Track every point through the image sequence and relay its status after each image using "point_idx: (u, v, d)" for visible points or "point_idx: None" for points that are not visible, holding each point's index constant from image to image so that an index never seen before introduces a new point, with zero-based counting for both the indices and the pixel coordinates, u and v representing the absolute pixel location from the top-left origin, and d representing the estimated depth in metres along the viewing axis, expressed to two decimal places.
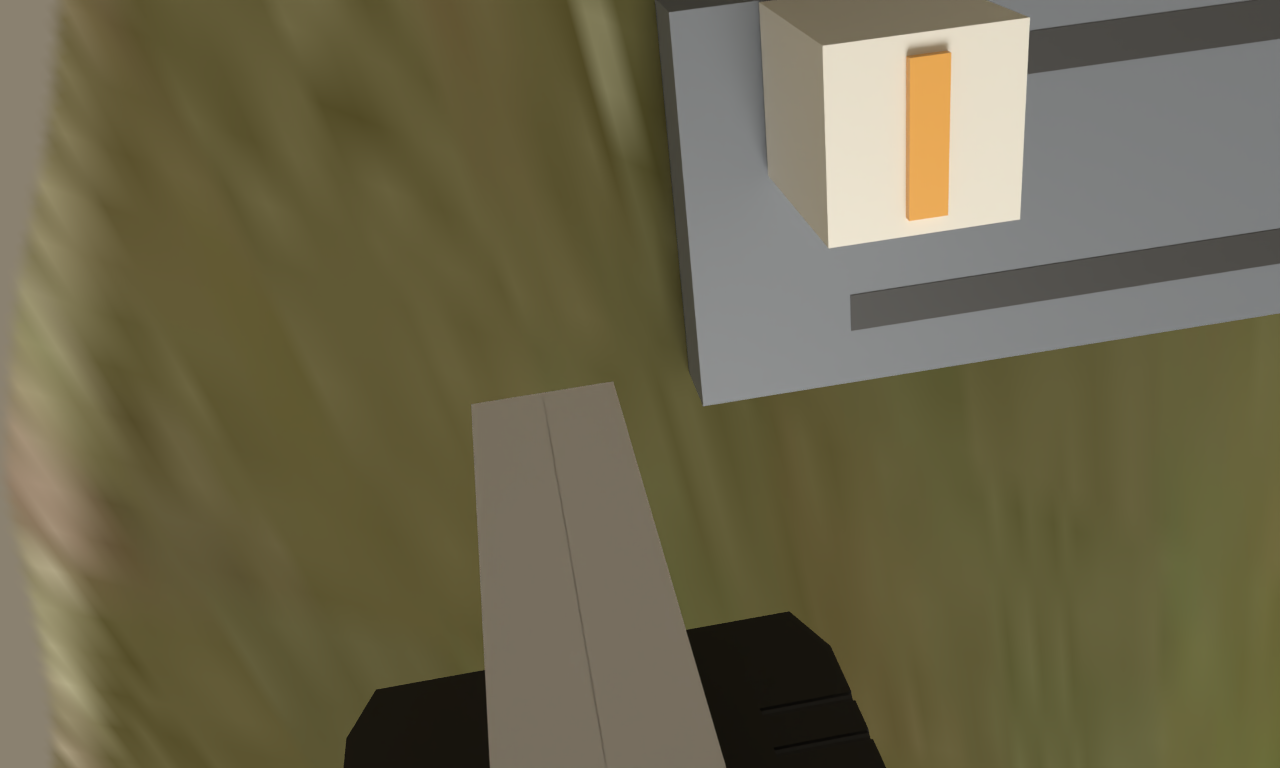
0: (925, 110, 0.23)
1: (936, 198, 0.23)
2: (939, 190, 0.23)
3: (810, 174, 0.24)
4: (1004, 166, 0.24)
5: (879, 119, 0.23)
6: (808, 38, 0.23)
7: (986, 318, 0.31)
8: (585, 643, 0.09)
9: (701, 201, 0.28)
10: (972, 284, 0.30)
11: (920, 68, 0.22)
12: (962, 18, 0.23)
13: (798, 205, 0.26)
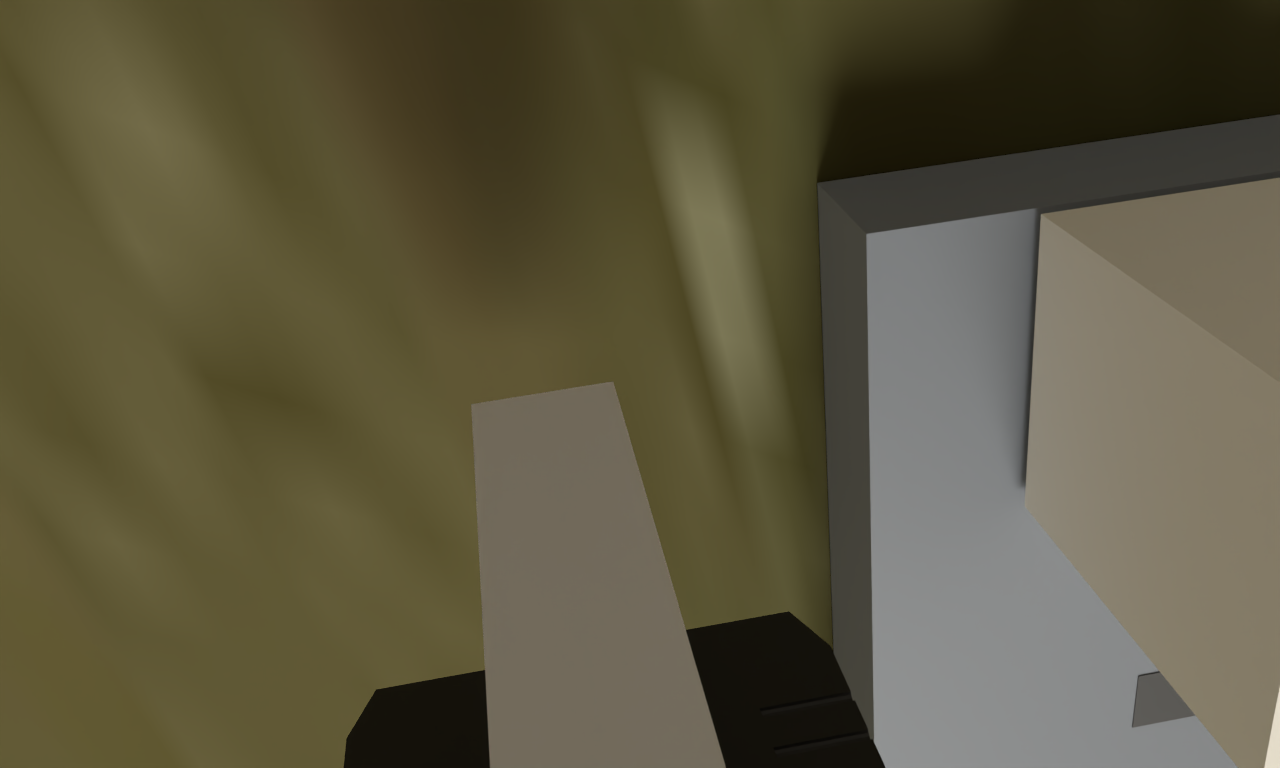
0: None
1: None
2: None
3: (1201, 614, 0.12)
4: None
5: None
6: (1250, 368, 0.10)
7: None
8: (585, 643, 0.09)
9: (899, 547, 0.16)
10: None
11: None
12: None
13: (1134, 627, 0.13)
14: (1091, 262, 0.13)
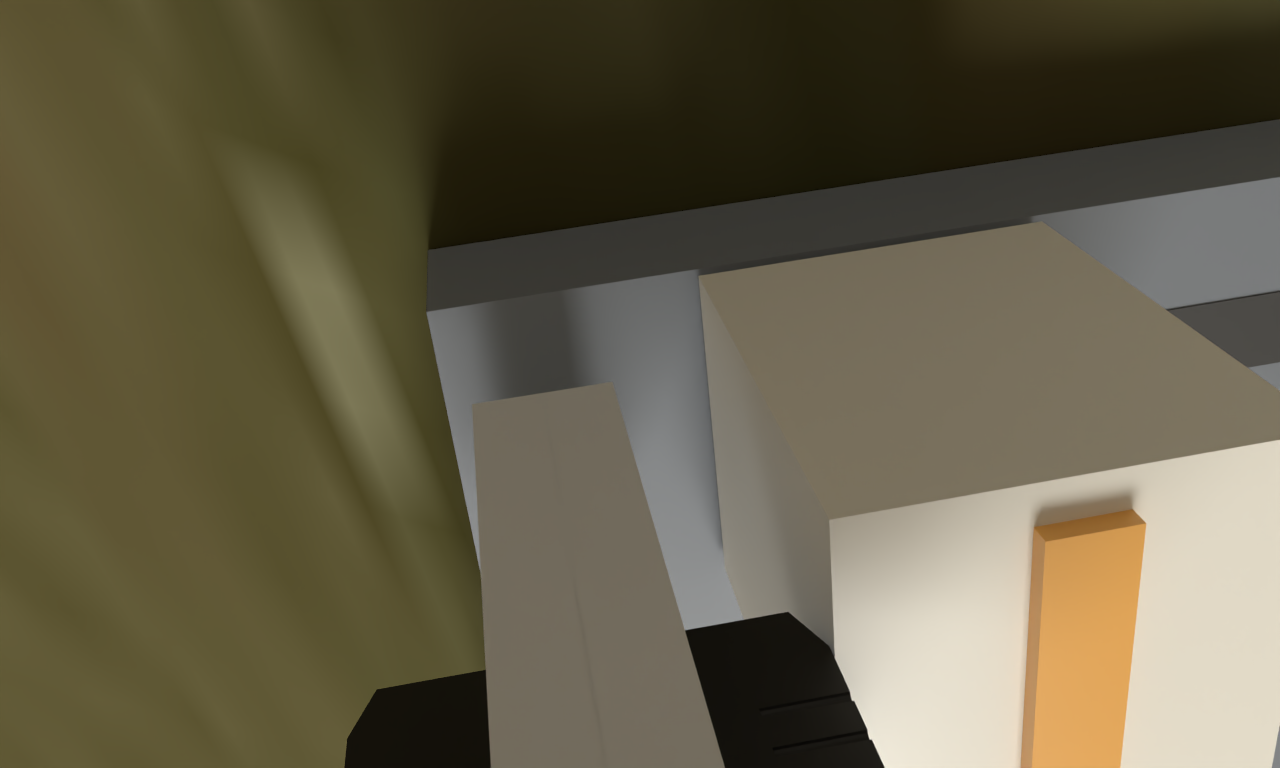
0: (1076, 641, 0.09)
1: None
2: None
3: None
4: (1242, 717, 0.10)
5: (965, 654, 0.10)
6: (794, 457, 0.10)
7: None
8: (586, 643, 0.09)
9: None
10: None
11: (1069, 560, 0.09)
12: (1158, 411, 0.10)
13: None
14: (722, 330, 0.12)
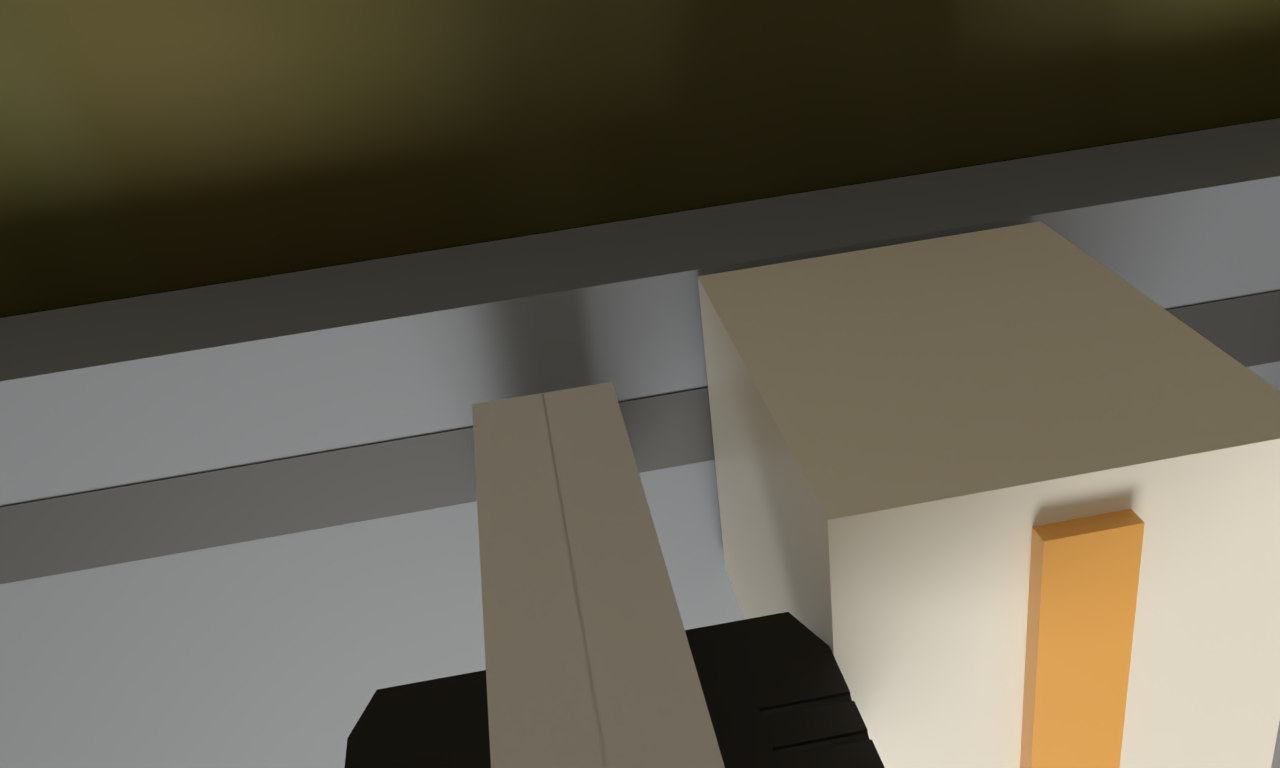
0: (1076, 641, 0.09)
1: None
2: None
3: None
4: (1241, 716, 0.10)
5: (963, 654, 0.10)
6: (791, 458, 0.10)
7: None
8: (587, 643, 0.09)
9: None
10: None
11: (1068, 560, 0.09)
12: (1157, 411, 0.10)
13: None
14: (721, 331, 0.12)
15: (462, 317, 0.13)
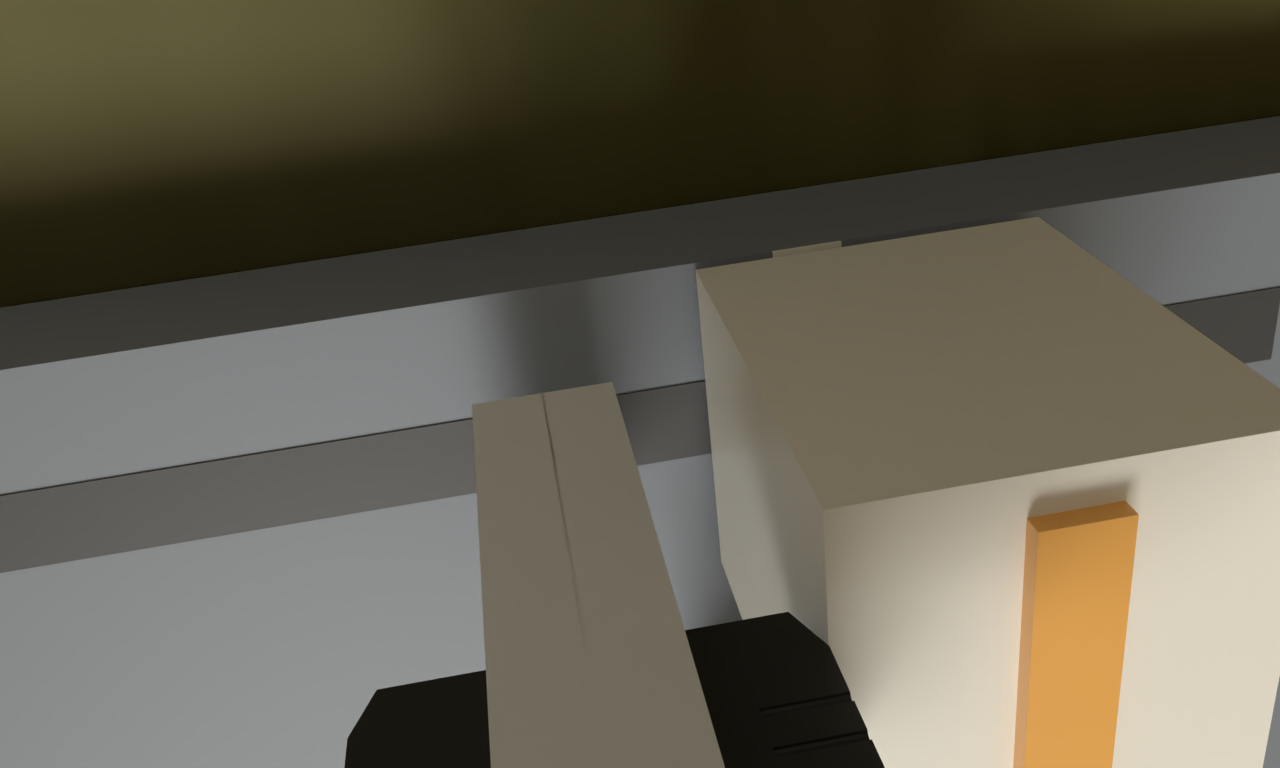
0: (1069, 631, 0.09)
1: None
2: None
3: None
4: (1234, 709, 0.10)
5: (958, 644, 0.10)
6: (788, 448, 0.10)
7: None
8: (586, 643, 0.09)
9: None
10: None
11: (1062, 551, 0.09)
12: (1152, 404, 0.10)
13: None
14: (719, 323, 0.12)
15: None
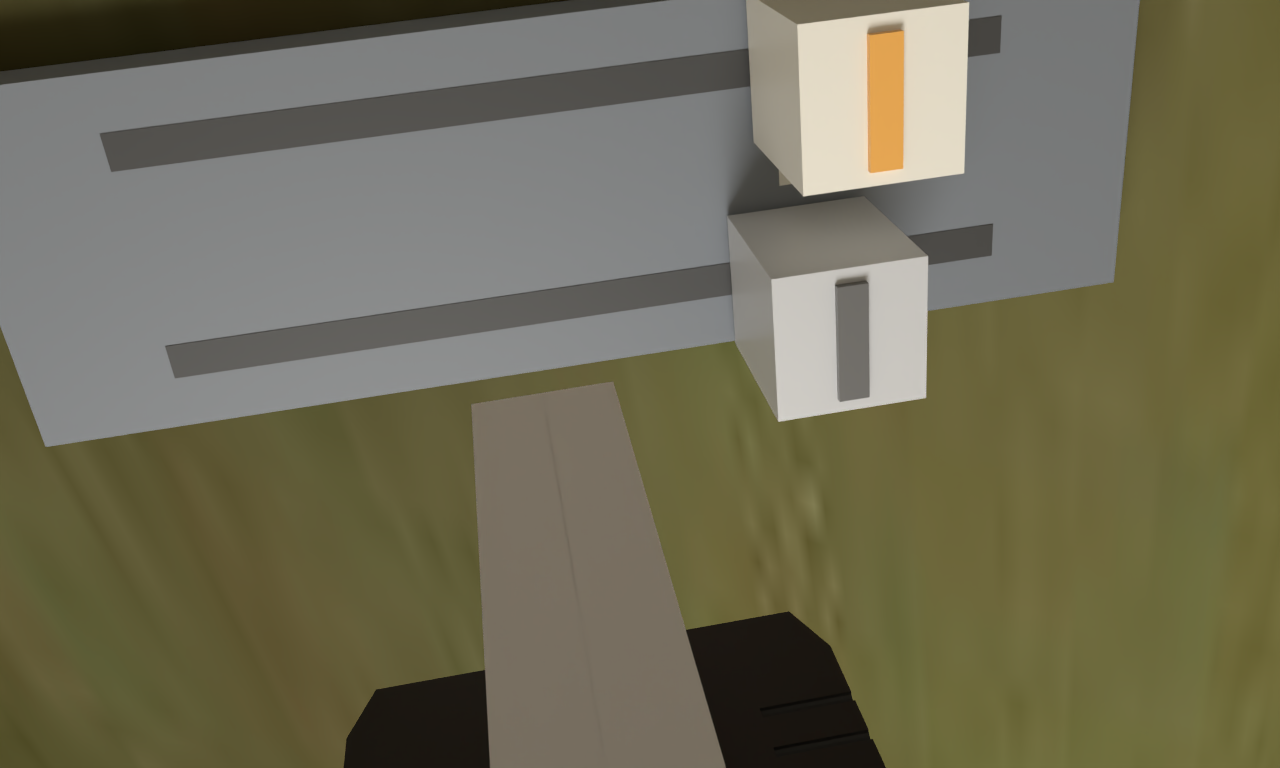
0: (883, 79, 0.27)
1: (893, 154, 0.28)
2: (895, 147, 0.28)
3: (788, 134, 0.29)
4: (950, 127, 0.28)
5: (845, 86, 0.27)
6: (785, 19, 0.27)
7: (307, 366, 0.34)
8: (586, 643, 0.09)
9: None
10: (284, 335, 0.33)
11: (878, 44, 0.27)
12: (914, 3, 0.27)
13: (778, 163, 0.30)
14: (757, 4, 0.30)
15: (331, 47, 0.30)
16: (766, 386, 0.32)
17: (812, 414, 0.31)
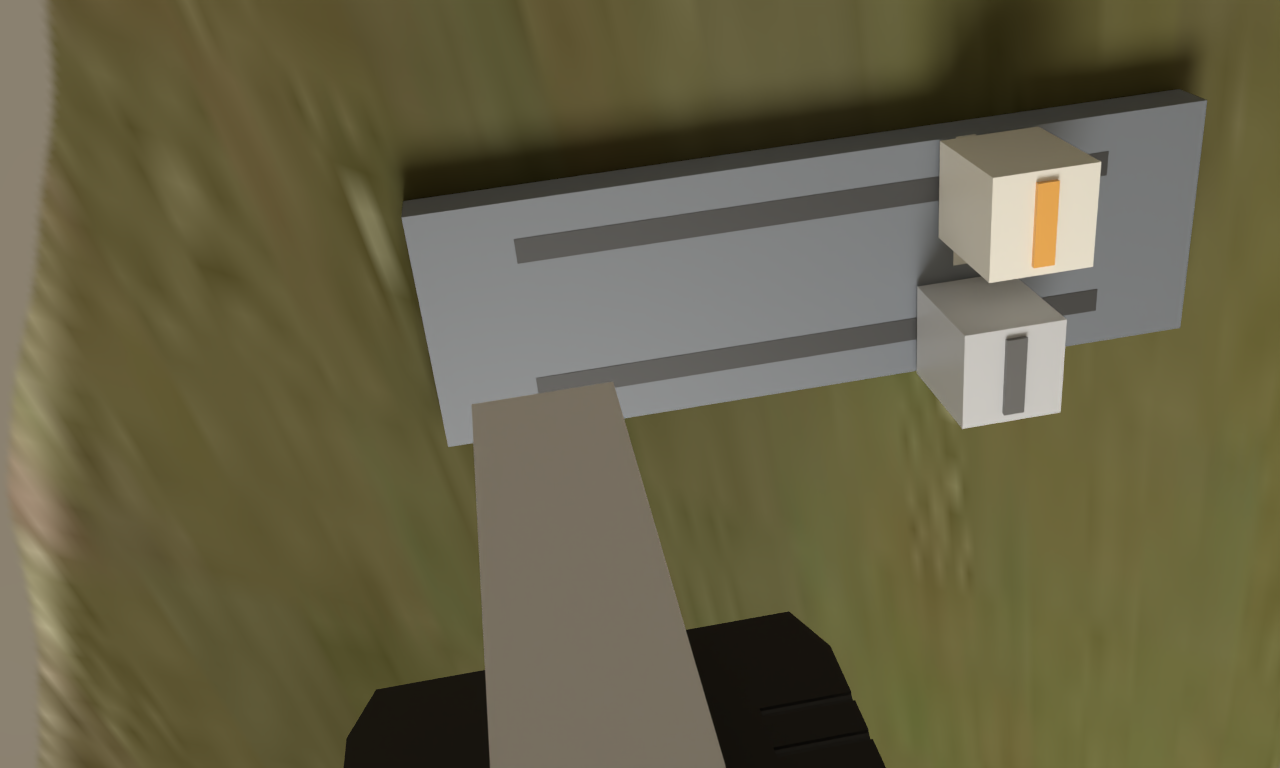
0: (1045, 210, 0.42)
1: (1048, 256, 0.43)
2: (1050, 252, 0.43)
3: (977, 241, 0.44)
4: (1085, 238, 0.43)
5: (1020, 215, 0.42)
6: (981, 171, 0.43)
7: (627, 391, 0.49)
8: (585, 643, 0.09)
9: (433, 323, 0.47)
10: (614, 370, 0.49)
11: (1043, 189, 0.42)
12: (1064, 160, 0.43)
13: (965, 257, 0.45)
14: (951, 152, 0.45)
15: (668, 181, 0.45)
16: (951, 404, 0.47)
17: (984, 424, 0.46)
